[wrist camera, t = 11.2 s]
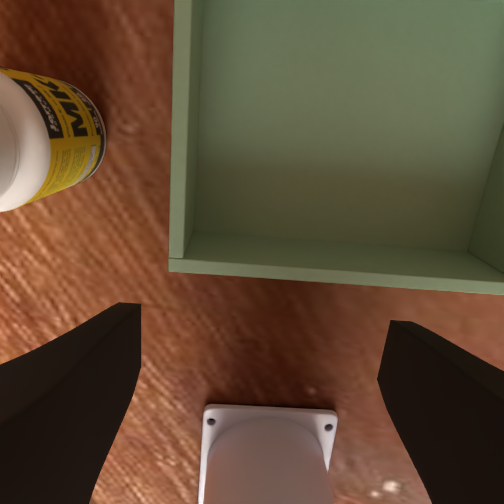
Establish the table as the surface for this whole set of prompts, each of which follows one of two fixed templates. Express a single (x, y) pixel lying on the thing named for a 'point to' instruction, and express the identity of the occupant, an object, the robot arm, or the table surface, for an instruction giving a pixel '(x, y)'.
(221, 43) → the box
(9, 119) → the supplement bottle
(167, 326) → the table surface
